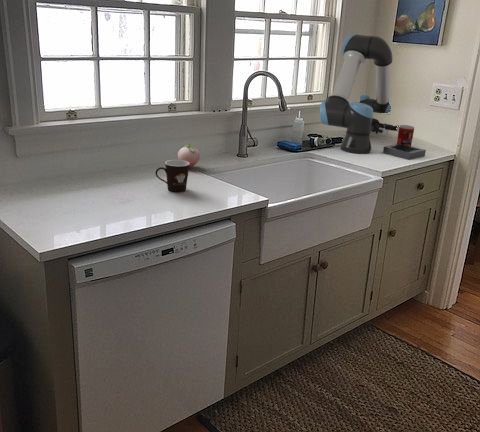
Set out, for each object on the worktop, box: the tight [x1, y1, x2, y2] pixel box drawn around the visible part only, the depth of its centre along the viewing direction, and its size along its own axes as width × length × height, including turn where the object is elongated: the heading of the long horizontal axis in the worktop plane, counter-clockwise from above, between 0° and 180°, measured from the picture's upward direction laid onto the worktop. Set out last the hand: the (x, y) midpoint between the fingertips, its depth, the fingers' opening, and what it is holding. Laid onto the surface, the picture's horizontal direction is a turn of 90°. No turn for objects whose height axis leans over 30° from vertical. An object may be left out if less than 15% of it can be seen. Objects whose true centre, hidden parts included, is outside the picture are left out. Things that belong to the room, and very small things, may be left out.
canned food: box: [396, 124, 415, 146], centre depth 281 cm, size 8×8×11 cm
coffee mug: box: [155, 159, 190, 194], centre depth 187 cm, size 12×9×10 cm
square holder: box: [382, 143, 427, 161], centre depth 265 cm, size 15×15×3 cm
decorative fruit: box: [177, 143, 201, 169], centre depth 215 cm, size 9×8×10 cm
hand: (396, 132), depth 287 cm, fingers open, 13 cm apart
